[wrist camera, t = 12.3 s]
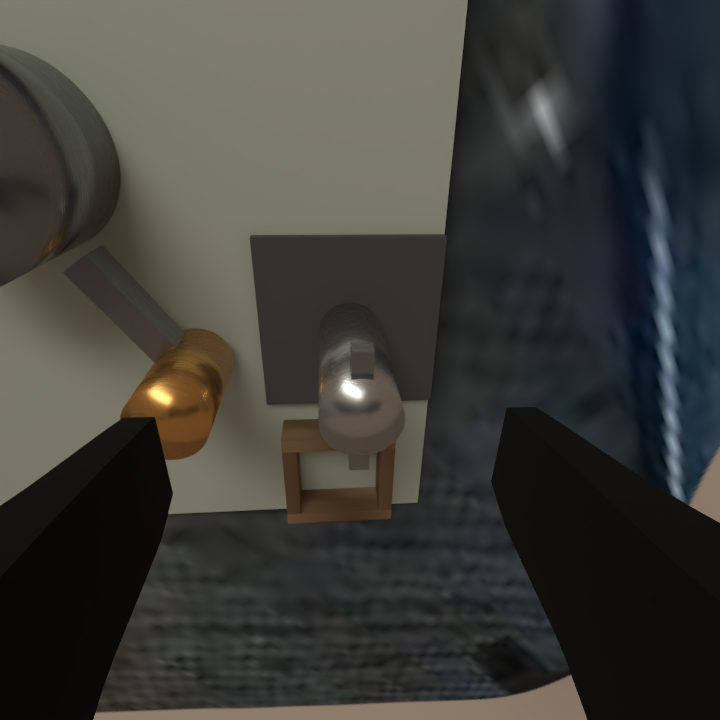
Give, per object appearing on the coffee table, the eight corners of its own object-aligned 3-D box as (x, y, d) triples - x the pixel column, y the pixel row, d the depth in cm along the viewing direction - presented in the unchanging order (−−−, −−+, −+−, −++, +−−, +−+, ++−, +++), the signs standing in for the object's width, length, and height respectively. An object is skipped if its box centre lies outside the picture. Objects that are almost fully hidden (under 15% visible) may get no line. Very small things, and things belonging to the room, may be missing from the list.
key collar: (290, 499, 22) (288, 523, 21) (283, 420, 20) (280, 441, 19) (386, 495, 23) (390, 518, 21) (391, 416, 20) (395, 437, 19)
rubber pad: (267, 399, 19) (266, 404, 19) (251, 234, 16) (249, 237, 16) (428, 394, 20) (430, 399, 20) (444, 234, 17) (447, 236, 16)
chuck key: (320, 376, 19) (319, 478, 13) (318, 282, 17) (317, 358, 11) (378, 375, 19) (400, 475, 13) (383, 282, 17) (410, 357, 12)
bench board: (14, 508, 22) (4, 521, 22) (-280, -98, 12) (-318, -111, 11) (414, 491, 24) (417, 502, 23) (467, -65, 13) (475, -76, 13)
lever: (69, 270, 16) (-14, 321, 12) (124, 228, 15) (57, 267, 11) (197, 397, 18) (164, 472, 15) (247, 366, 18) (227, 434, 14)
